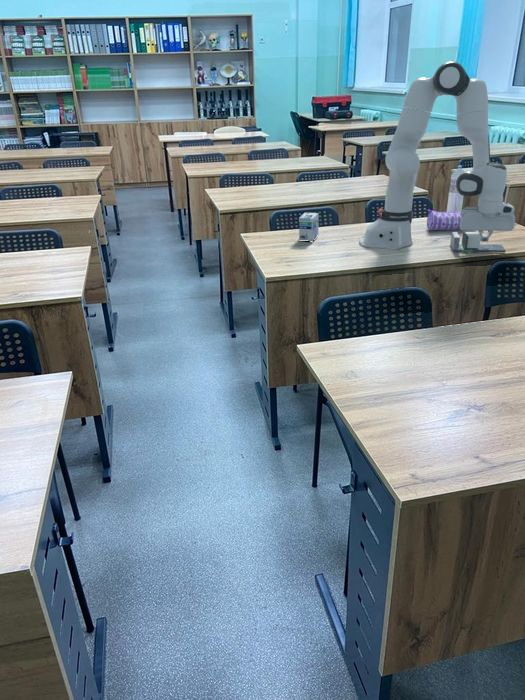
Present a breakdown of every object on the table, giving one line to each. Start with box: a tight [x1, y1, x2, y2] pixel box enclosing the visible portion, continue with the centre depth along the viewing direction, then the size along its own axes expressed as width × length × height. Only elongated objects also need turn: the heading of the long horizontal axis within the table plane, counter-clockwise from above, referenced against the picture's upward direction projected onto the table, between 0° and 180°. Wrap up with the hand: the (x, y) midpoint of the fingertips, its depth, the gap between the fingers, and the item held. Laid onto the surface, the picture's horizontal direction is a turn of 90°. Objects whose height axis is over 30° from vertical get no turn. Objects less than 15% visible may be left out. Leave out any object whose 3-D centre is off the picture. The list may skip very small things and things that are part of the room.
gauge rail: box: [449, 231, 506, 254], centre depth 212 cm, size 20×8×6 cm, turn 80°
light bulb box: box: [298, 212, 320, 241], centre depth 234 cm, size 11×7×11 cm, turn 161°
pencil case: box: [426, 209, 470, 231], centre depth 239 cm, size 22×9×9 cm, turn 92°
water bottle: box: [446, 165, 466, 212], centre depth 252 cm, size 7×7×25 cm
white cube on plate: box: [461, 231, 481, 249], centre depth 212 cm, size 6×8×5 cm, turn 170°
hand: (484, 241), depth 211 cm, fingers closed
